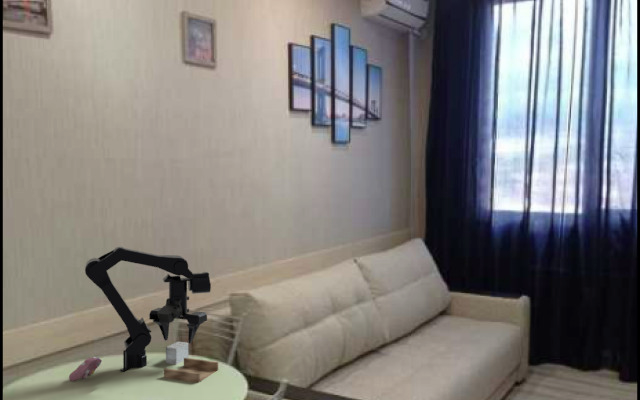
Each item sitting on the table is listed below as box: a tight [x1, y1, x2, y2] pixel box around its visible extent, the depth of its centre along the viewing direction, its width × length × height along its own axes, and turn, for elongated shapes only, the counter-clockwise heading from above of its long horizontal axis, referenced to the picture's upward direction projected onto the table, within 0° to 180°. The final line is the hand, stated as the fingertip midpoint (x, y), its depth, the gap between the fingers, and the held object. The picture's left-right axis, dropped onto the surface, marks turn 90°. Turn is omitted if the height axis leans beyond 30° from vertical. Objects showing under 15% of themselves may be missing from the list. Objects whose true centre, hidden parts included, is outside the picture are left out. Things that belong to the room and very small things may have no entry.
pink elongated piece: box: [68, 356, 102, 382], centre depth 177 cm, size 10×5×7 cm, turn 169°
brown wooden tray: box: [163, 357, 219, 383], centre depth 176 cm, size 12×12×4 cm
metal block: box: [165, 341, 189, 365], centre depth 189 cm, size 4×7×6 cm, turn 161°
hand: (178, 341), depth 188 cm, fingers open, 9 cm apart
